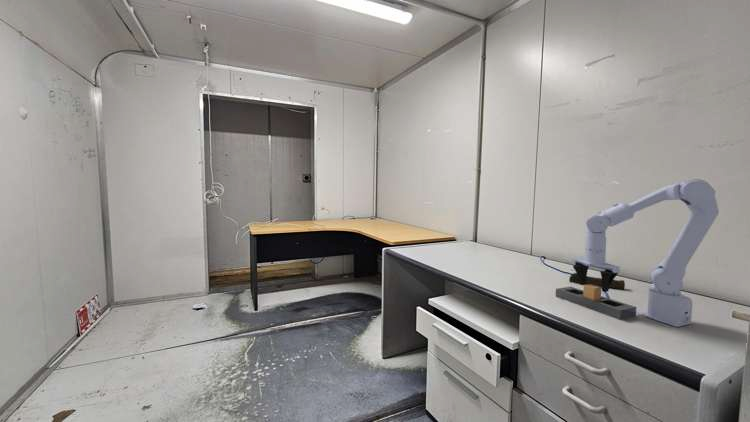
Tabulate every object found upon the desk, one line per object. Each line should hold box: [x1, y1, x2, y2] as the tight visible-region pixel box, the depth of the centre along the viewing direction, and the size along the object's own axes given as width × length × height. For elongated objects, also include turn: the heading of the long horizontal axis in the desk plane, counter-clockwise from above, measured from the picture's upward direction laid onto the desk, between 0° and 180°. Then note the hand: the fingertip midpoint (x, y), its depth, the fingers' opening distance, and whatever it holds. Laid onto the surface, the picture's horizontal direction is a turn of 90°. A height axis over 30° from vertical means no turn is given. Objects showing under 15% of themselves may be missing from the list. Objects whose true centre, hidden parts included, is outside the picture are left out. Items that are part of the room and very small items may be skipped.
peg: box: [583, 284, 602, 300], centre depth 105 cm, size 4×4×7 cm
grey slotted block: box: [555, 286, 637, 320], centre depth 105 cm, size 22×8×3 cm, turn 21°
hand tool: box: [568, 272, 626, 291], centre depth 128 cm, size 19×4×5 cm, turn 56°
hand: (593, 287), depth 105 cm, fingers open, 7 cm apart
